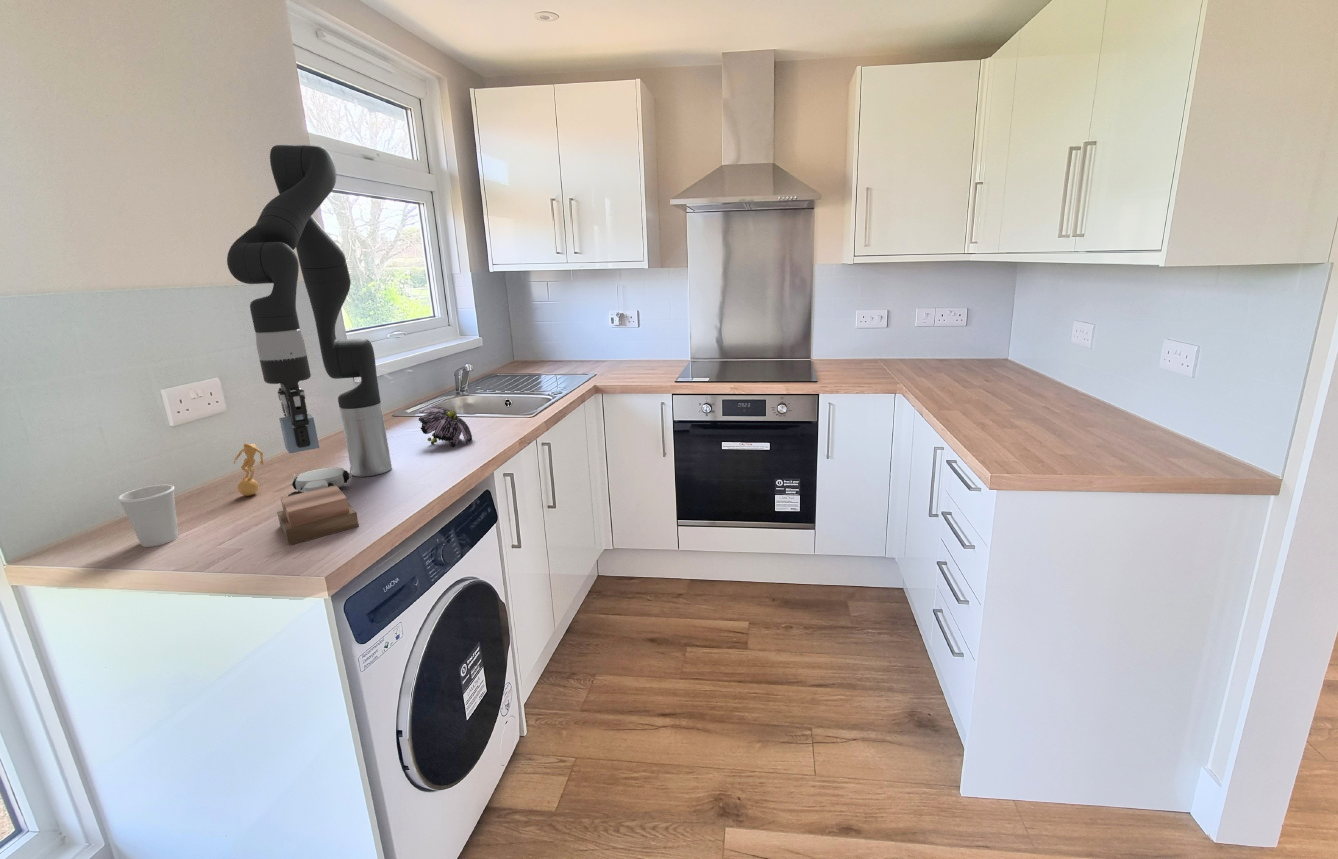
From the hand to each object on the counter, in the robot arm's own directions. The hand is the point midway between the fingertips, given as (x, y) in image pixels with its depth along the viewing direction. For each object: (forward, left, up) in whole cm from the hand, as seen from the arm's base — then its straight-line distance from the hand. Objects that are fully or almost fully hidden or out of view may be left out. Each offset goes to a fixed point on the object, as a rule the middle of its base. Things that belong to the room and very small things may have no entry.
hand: (301, 443), depth 117 cm
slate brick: (0, 0, -1) cm, 1 cm away
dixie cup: (-15, -25, -17) cm, 34 cm away
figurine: (-33, -8, -17) cm, 38 cm away
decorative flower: (-41, +40, -17) cm, 60 cm away
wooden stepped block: (0, 0, -17) cm, 17 cm away
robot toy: (-20, +4, -18) cm, 27 cm away
